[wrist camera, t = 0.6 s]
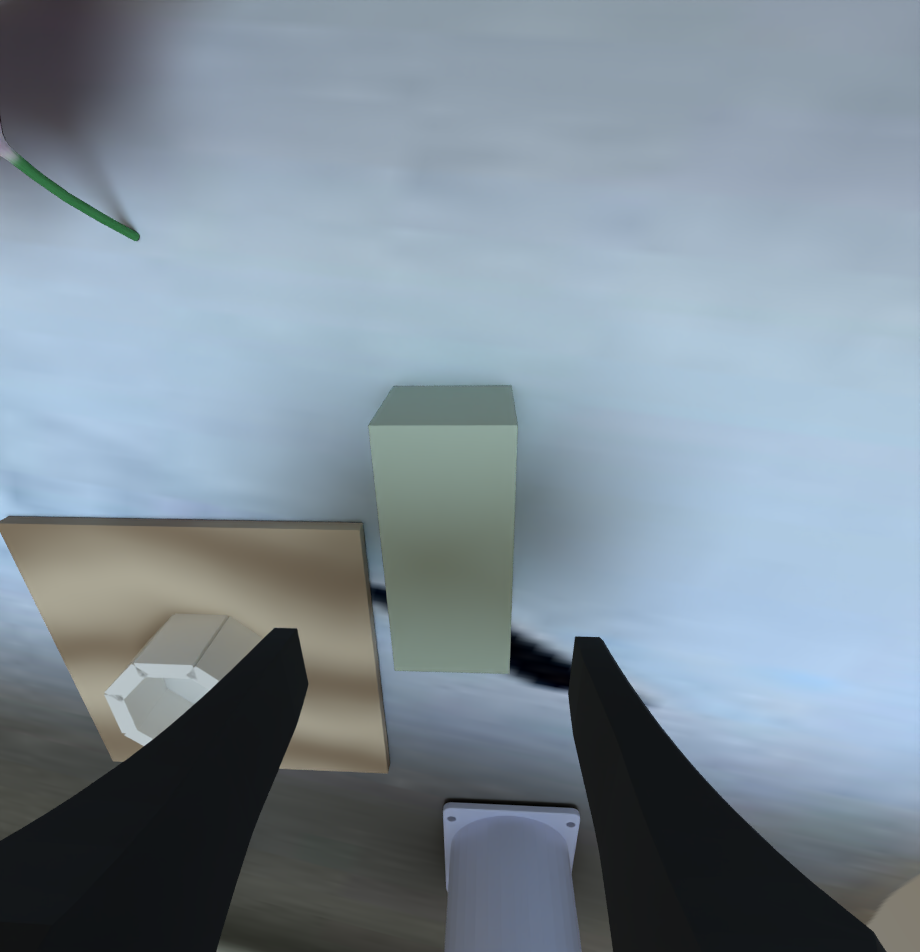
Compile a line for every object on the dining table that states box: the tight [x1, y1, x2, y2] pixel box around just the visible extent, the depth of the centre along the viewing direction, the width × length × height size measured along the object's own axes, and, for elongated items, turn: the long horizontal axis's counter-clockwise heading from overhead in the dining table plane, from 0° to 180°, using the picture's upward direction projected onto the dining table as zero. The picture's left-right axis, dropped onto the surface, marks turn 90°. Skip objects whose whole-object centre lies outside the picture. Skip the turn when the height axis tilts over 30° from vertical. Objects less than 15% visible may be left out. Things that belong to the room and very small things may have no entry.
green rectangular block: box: [368, 385, 518, 674], centre depth 19 cm, size 10×4×4 cm, turn 1°
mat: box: [0, 516, 390, 773], centre depth 25 cm, size 16×16×1 cm
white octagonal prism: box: [104, 614, 263, 746], centre depth 23 cm, size 6×6×3 cm
